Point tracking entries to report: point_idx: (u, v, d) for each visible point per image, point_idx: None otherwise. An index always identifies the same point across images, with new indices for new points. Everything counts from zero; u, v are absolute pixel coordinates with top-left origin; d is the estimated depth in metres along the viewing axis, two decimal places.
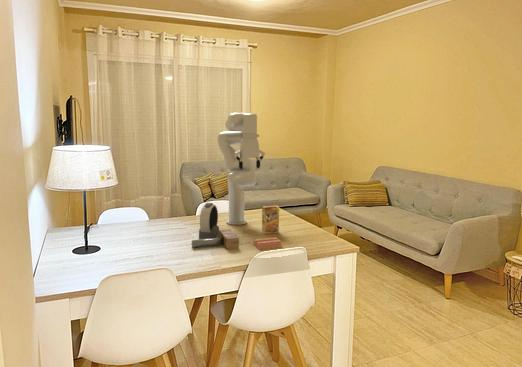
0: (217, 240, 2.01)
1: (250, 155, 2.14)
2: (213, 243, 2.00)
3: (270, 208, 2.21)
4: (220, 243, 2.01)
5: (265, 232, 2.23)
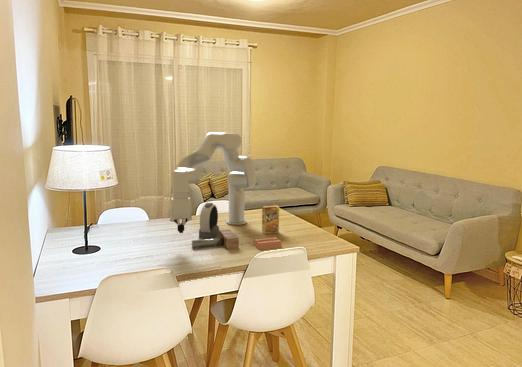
0: (218, 241, 2.01)
1: (180, 216, 1.92)
2: (213, 244, 2.00)
3: (270, 208, 2.21)
4: (220, 244, 2.01)
5: (265, 232, 2.23)
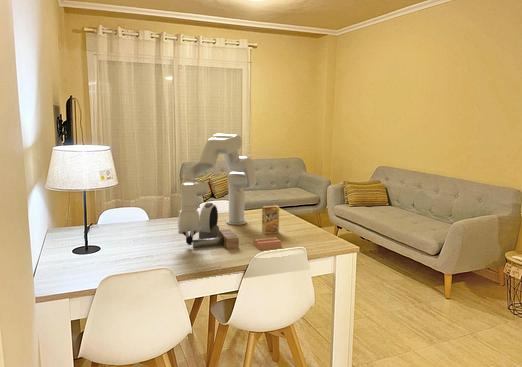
0: (218, 239, 2.01)
1: (189, 228, 1.94)
2: (214, 243, 2.00)
3: (270, 208, 2.21)
4: (221, 243, 2.01)
5: (265, 232, 2.23)
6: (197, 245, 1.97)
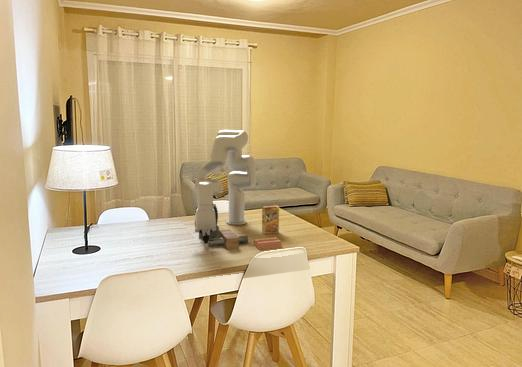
0: None
1: (205, 227, 1.97)
2: None
3: (270, 208, 2.21)
4: None
5: (265, 232, 2.23)
6: (213, 244, 2.00)
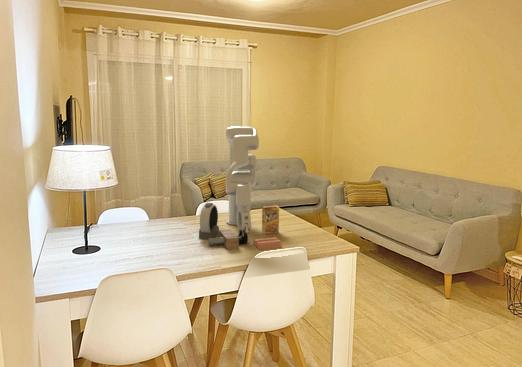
0: None
1: (239, 226, 2.06)
2: None
3: (270, 208, 2.21)
4: None
5: (265, 232, 2.23)
6: (213, 242, 2.00)
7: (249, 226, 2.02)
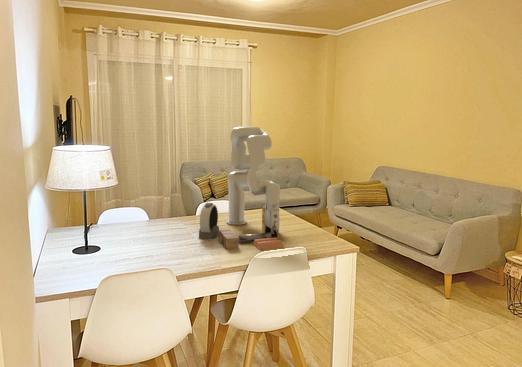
0: (262, 233, 2.11)
1: (267, 224, 2.12)
2: (258, 236, 2.09)
3: None
4: (265, 236, 2.10)
5: None
6: (243, 238, 2.06)
7: (278, 224, 2.08)
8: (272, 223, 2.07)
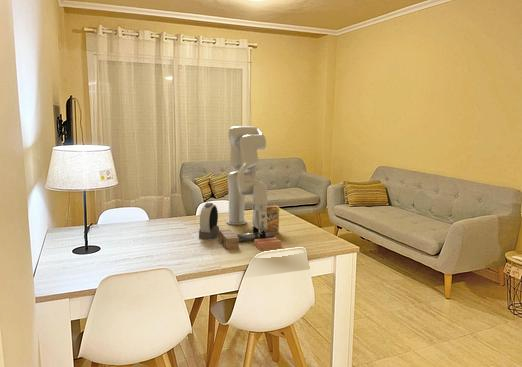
0: None
1: (255, 225, 2.09)
2: None
3: (270, 208, 2.21)
4: None
5: None
6: (240, 234, 2.10)
7: (266, 225, 2.06)
8: (260, 223, 2.04)
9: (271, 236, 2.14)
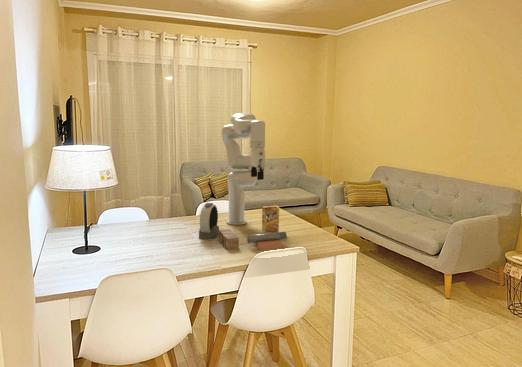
0: (273, 236, 2.01)
1: (253, 164, 2.05)
2: (268, 239, 2.01)
3: (270, 208, 2.21)
4: (275, 239, 2.02)
5: (265, 232, 2.23)
6: (252, 241, 1.98)
7: (263, 162, 2.01)
8: (257, 160, 2.00)
9: None
